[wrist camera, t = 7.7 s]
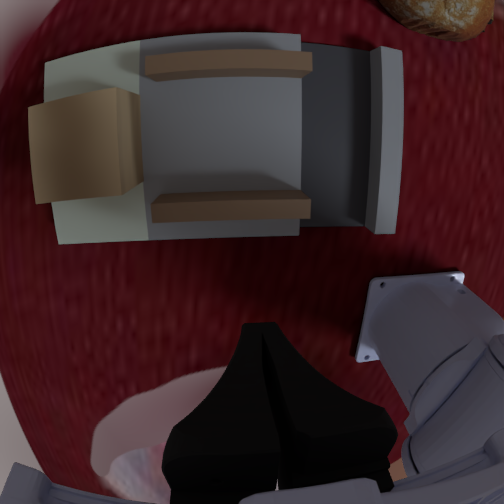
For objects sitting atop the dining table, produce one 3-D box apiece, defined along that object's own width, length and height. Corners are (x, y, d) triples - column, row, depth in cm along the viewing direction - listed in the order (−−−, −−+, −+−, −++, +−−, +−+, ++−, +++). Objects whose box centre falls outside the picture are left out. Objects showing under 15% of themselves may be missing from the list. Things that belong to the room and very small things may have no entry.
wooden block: (140, 95, 15) (116, 87, 12) (143, 181, 17) (121, 195, 14) (64, 108, 15) (28, 107, 11) (69, 188, 17) (35, 204, 13)
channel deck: (387, 56, 17) (422, 43, 13) (381, 224, 21) (413, 247, 17) (59, 66, 16) (23, 57, 11) (71, 234, 20) (40, 258, 16)
